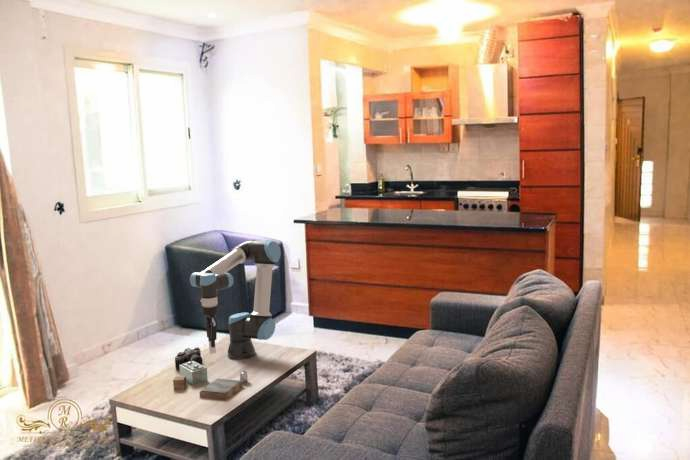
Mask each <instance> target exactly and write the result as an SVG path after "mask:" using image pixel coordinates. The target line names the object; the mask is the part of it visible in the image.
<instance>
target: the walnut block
mask: <svg viewBox="0 0 690 460" xmlns="http://www.w3.org/2000/svg"><path fill="white" fill-rule="evenodd" d="M187 383H188V382H187V381H186V376H180V375H176V376H174V378H173V380H172V384H173V390H174V391H175V390H185V388H186V387H187Z"/></svg>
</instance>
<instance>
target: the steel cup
mask: <svg viewBox="0 0 690 460" xmlns="http://www.w3.org/2000/svg"><path fill="white" fill-rule="evenodd" d="M239 379H240V380H239V381H243V384H247V383H248V382H249V379H248V371H245V370H243V371H240V372H239Z"/></svg>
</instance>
